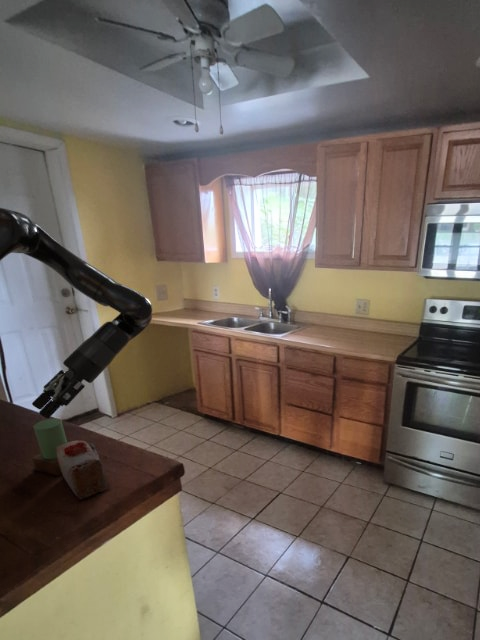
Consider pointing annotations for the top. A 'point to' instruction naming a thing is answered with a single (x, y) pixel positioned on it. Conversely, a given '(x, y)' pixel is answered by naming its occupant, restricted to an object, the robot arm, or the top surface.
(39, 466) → the walnut block
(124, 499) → the top surface
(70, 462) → the food item
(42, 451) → the green tin
